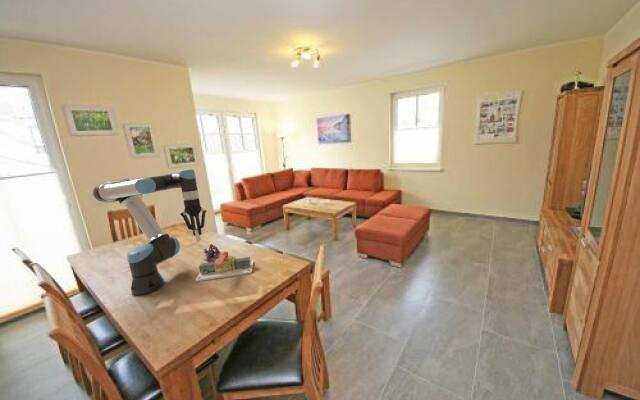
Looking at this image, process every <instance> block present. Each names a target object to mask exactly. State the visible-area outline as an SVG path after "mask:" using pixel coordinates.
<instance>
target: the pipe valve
mask: <svg viewBox="0 0 640 400" xmlns="http://www.w3.org/2000/svg"><path fill="white" fill-rule="evenodd" d="M218 260H219V258H218V259H216V261H215V262H201V263H200V265H199V266H198V269H199V273H203V275H204V274H208V273H209V272H211V271H215V272H216V273H221V272H228V271H234V270H235V269H236V268H239V267H242V269H247V268H248V266H250V264H251V261H250V260H251V257H250V256H249V257H247V256H246V257H240V258H237V257H236V256H234V255H228V257H227V258H226V259H225V261H224V263H223V266H222V268H216V264H217V262H218Z"/></svg>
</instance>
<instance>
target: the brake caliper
mask: <svg viewBox="0 0 640 400" xmlns="http://www.w3.org/2000/svg"><path fill="white" fill-rule="evenodd" d="M202 253H204V256H205V258H203V259H202V260H203V261H205V262H206V263H209V262H215V261H216V259H218V258H220V253H221V251H220V250H219V248H218V247H217V246H215V245H213V244H212V243H210V244H209V247H208V249H207V248H203V250H202Z"/></svg>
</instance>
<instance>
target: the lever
mask: <svg viewBox="0 0 640 400" xmlns="http://www.w3.org/2000/svg"><path fill="white" fill-rule="evenodd" d="M220 252H221V251H220ZM228 256H229V252H228V251H225V250H224V251H222V252H221V253H220V258H219V260H218V262H217V264H216V268H222V266H223V263H224V261H225V259H226V258H227V257H228Z"/></svg>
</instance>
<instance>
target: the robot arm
mask: <svg viewBox="0 0 640 400" xmlns="http://www.w3.org/2000/svg"><path fill="white" fill-rule="evenodd" d="M172 189H180V190H181V195H182V199H183V206H184V209H183V211H182V212H180V216H181V217H182V218H183V220H184V223H185V225H186V227H187V229H188V230H190V231H192V235H193V236H195V240H196V242H200V241H202V238H201V235H202V234H203V232H202V229H203V228H205V222H206V213H207V211H208V210H207V209H204V208H202V206H201V202H200V198H199V197H200V196H199V190H198V184H197V176H196V172H195V170H194V169H193V168H190V169H179V170H178V172H177V173H173V174H172V173H167V174H163V175H157V176H149V177H142V178H138V179H137V178H136V179H134V178H123V179H119V180H110V181H103V182H100V183H98V184H96V185H95V187H94V188H93V190H92V196H93V197H94V199H96V200H97V201H99V202H100V203H107V204H108V203H116V202H119V204H120V205H121V206H123V207H125V208H127V210H128V212H129V213H130V214H131V216H132V218H133V220H134V221H135V222H136V224H137V225H138V226H139V228H140V230H141V231H142V233H143V234H144V236H145V238H146V240H147V243H143V244H141V245H137V246H134V247H132V248H131V249H130V250H129V251H128V252H127V254H126V255H127V262H128V265H129V270H130V274H131V277H132V278H131V280H132V281H131V284H130V285H131V286H130V292H131V294H132V295H134V296H143V295H146V294H150V293H152V292H155V291H157V290H159V289H160V288H162V287H163V286H164V285H165V279H164V277H163V276H162V275H161V273H160V271H159V270H158V265H159V264H161V263H163V262H165V261H167V260H170V259H172V258H173V257H175V256H177V255H178V254H179V252H180V249H181V248H180V246H181V245H180V242H179V240H178V238H176V237H175V236H170V235H169V233H167V232H164V231H163V230H162V228H161V226H160V224H158V222H157V220H156V219H155V218H154V216H153V214H152V213H151V211H150V210H149V208H148V207H147V205H146V203H145V202H144V201H143V197H144V195H145V194H146V195H148V194H153V193H157V192H160V191H161V192H163V191H168V190H172ZM200 213H201V219H200ZM188 216H189V217H188ZM189 219H190V220H189Z"/></svg>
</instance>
